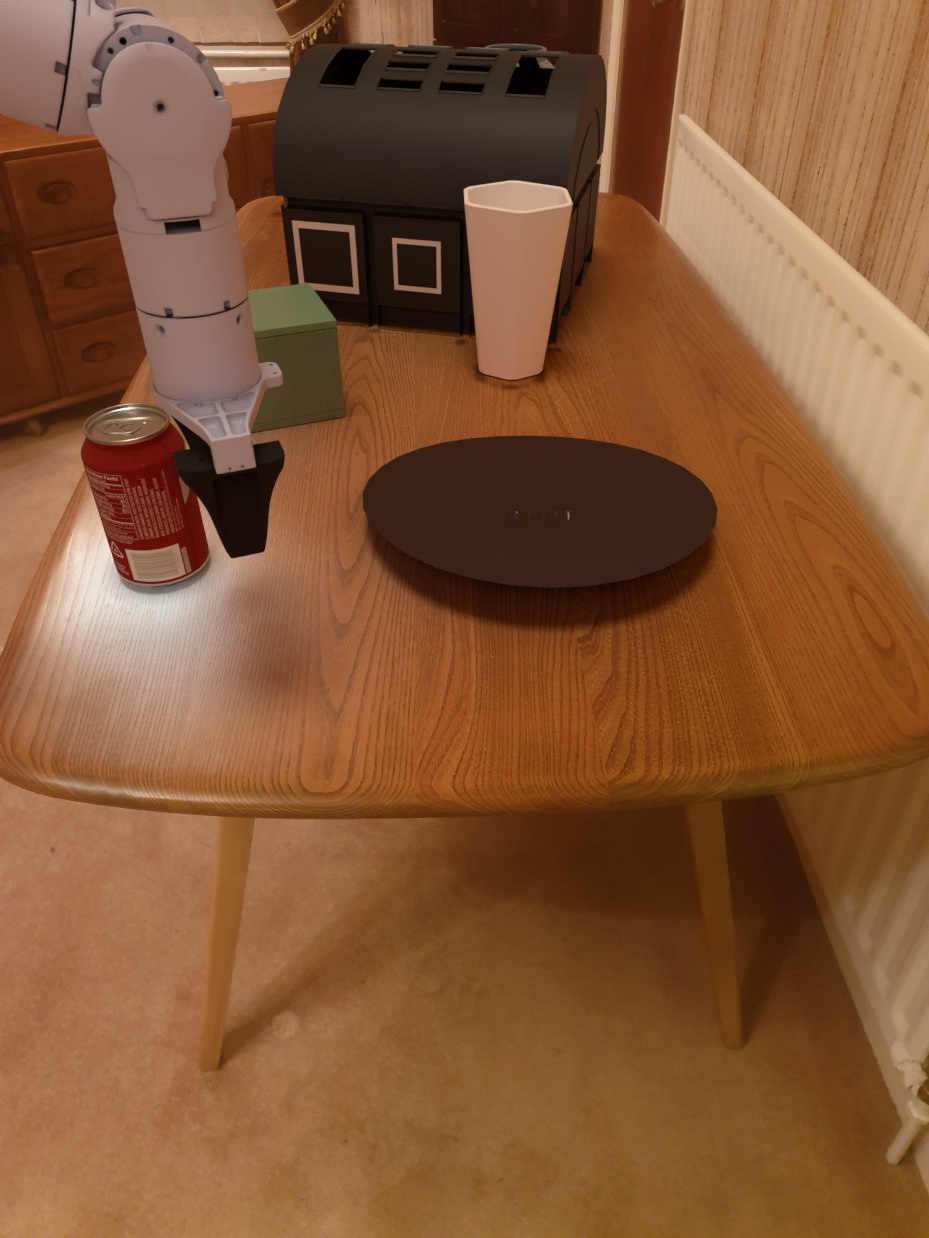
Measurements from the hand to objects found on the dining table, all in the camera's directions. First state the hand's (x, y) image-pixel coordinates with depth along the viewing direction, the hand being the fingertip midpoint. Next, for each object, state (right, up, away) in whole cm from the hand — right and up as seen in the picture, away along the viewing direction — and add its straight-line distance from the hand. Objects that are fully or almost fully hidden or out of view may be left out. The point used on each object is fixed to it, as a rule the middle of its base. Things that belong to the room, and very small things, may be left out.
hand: (235, 518), depth 54 cm
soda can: (-8, -2, +12) cm, 15 cm away
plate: (+20, +2, +17) cm, 26 cm away
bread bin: (-5, +15, +32) cm, 36 cm away
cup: (+19, +21, +40) cm, 49 cm away
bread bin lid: (-5, +22, +27) cm, 35 cm away
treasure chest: (+13, +37, +59) cm, 70 cm away
